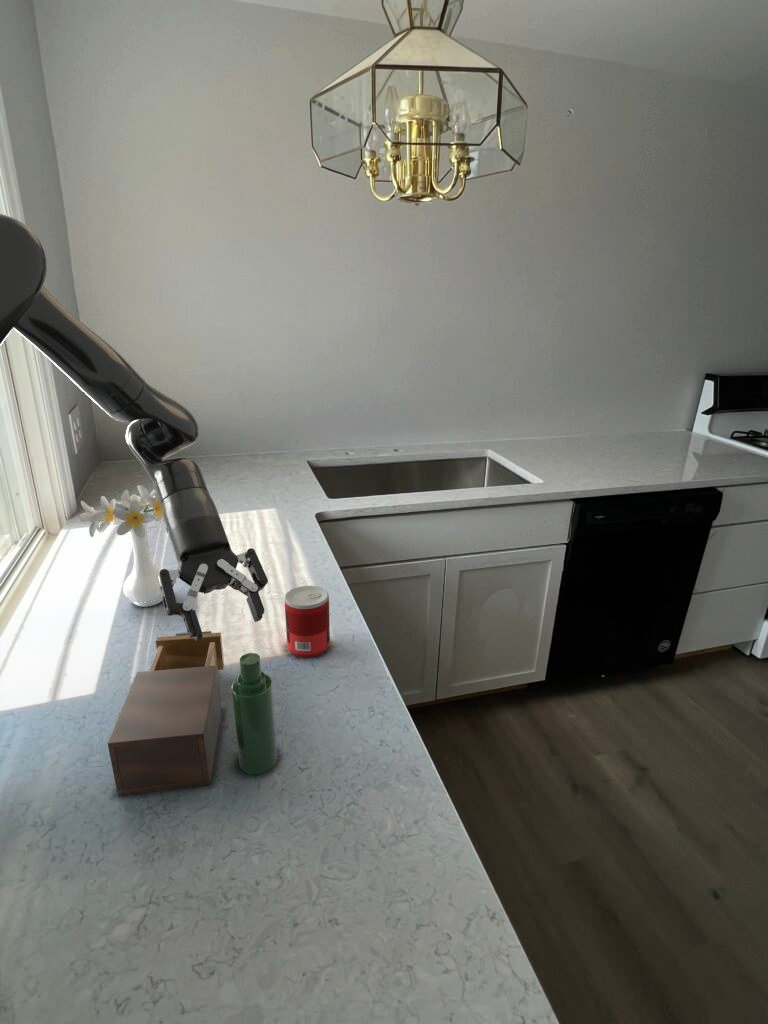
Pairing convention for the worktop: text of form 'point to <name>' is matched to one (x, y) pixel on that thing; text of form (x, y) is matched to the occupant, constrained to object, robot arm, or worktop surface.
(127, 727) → the cabinet
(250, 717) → the bottle
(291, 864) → the worktop surface
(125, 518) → the flower vase
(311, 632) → the canned food
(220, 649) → the drawer
